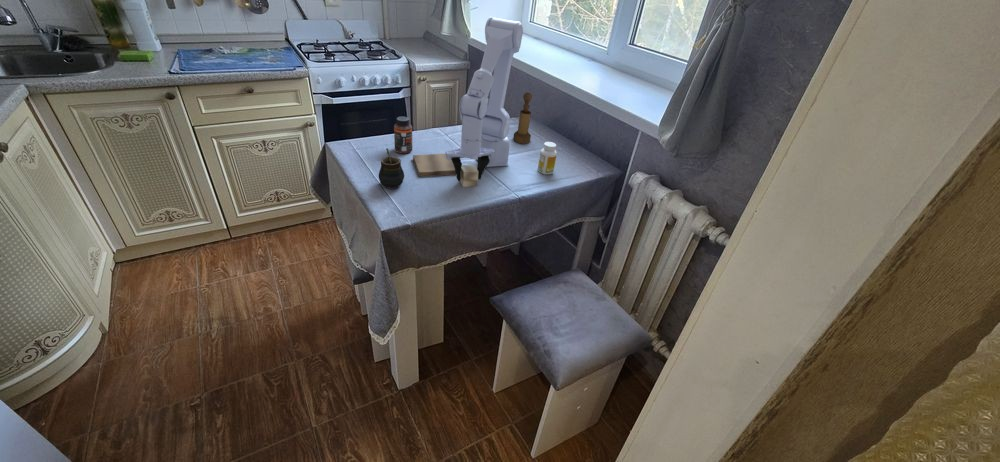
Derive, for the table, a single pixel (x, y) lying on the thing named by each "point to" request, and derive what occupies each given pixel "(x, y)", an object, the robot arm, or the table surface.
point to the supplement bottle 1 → (403, 135)
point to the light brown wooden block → (433, 165)
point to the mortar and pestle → (524, 122)
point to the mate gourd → (391, 172)
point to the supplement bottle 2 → (547, 158)
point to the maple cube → (469, 175)
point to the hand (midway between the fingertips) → (468, 178)
